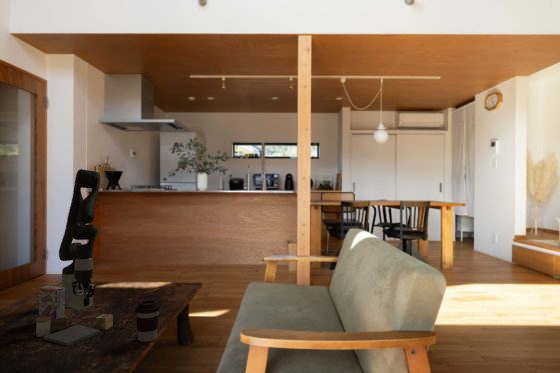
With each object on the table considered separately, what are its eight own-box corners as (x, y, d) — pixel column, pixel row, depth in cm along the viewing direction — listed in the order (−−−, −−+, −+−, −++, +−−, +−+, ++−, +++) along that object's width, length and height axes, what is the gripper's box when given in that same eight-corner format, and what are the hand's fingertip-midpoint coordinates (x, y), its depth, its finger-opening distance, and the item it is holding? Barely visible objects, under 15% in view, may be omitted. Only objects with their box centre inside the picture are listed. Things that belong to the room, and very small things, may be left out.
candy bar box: (37, 323, 168) (38, 287, 169) (47, 320, 173) (48, 285, 173) (55, 326, 165) (56, 289, 165) (65, 323, 169) (66, 287, 170)
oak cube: (95, 329, 162) (95, 317, 162) (102, 325, 167) (102, 314, 167) (105, 329, 161) (105, 318, 161) (112, 325, 166) (112, 314, 166)
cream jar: (32, 335, 154) (33, 318, 154) (45, 331, 159) (45, 315, 159) (40, 337, 152) (41, 320, 152) (53, 333, 157) (54, 316, 157)
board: (43, 339, 150) (43, 336, 150) (77, 327, 164) (77, 324, 164) (67, 346, 144) (67, 342, 144) (100, 333, 157) (100, 330, 157)
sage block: (72, 308, 166) (72, 295, 166) (86, 304, 173) (86, 291, 173) (78, 310, 164) (79, 296, 164) (92, 305, 171) (93, 292, 171)
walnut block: (48, 329, 162) (48, 320, 162) (64, 326, 166) (64, 317, 166) (51, 331, 159) (51, 322, 159) (66, 328, 163) (66, 319, 163)
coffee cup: (145, 345, 145) (145, 307, 145) (129, 340, 150) (129, 303, 150) (165, 337, 153) (165, 301, 153) (149, 332, 158) (150, 297, 159)
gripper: (66, 267, 168) (64, 304, 168) (86, 271, 162) (85, 310, 162) (81, 264, 175) (80, 300, 175) (101, 268, 169) (100, 305, 169)
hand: (82, 304), depth 169 cm, fingers closed on sage block, 4 cm apart
